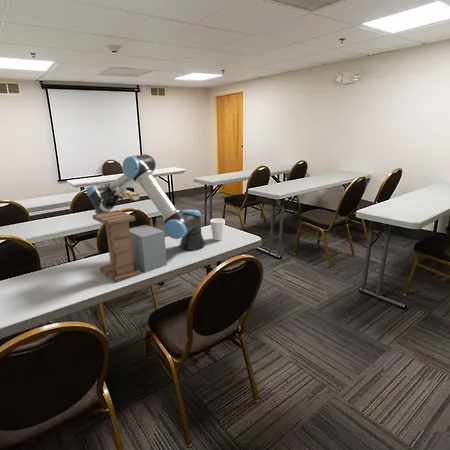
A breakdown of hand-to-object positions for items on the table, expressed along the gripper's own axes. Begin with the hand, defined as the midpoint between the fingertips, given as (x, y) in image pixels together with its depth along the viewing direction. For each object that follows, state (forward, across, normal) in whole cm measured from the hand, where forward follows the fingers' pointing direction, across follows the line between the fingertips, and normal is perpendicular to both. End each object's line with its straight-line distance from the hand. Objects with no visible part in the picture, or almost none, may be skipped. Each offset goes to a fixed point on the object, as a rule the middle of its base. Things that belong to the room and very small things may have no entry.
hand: (121, 188), depth 174 cm
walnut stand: (-2, +15, -44) cm, 47 cm away
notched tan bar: (+1, 0, -6) cm, 6 cm away
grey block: (-2, 0, -44) cm, 44 cm away
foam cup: (-3, -54, -43) cm, 69 cm away
